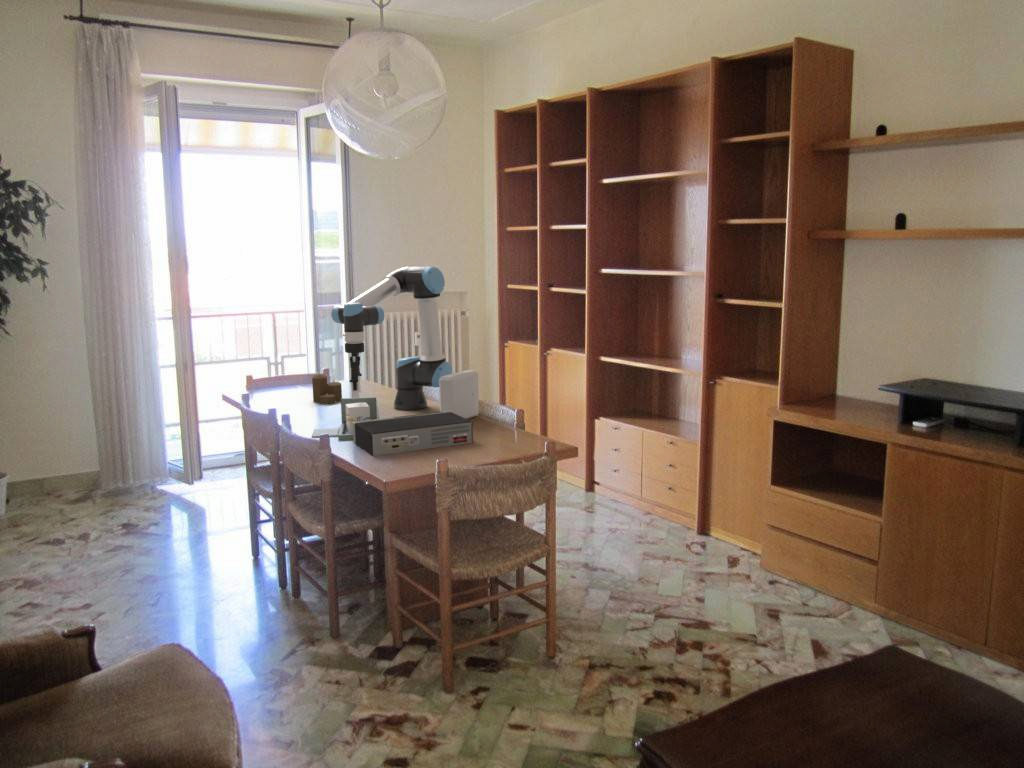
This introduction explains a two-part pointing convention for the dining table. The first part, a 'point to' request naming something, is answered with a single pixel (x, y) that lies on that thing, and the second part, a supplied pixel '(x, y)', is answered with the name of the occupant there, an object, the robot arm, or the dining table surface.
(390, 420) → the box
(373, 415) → the grey angled piece
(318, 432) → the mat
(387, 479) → the dining table surface
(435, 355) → the robot arm
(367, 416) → the ink box
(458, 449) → the dining table surface
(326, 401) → the brown stepped block
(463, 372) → the white upright slab
